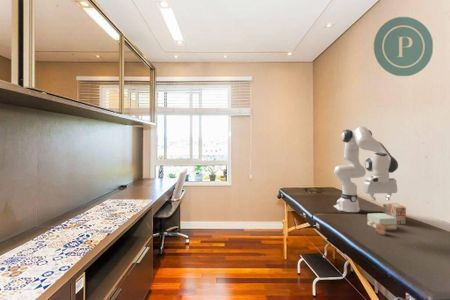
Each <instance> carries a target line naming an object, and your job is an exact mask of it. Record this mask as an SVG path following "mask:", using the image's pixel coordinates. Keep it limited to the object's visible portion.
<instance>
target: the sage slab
mask: <svg viewBox="0 0 450 300" xmlns="http://www.w3.org/2000/svg"><path fill="white" fill-rule="evenodd" d="M366 218H367V219H368V220H370V221H372V222H375V223H382V224H385V225H388V224H397V218H395V217H392V216H390V215H387V214H384V212H383V213H381V212H380V213H379V212H377V213H375V212H374V213H367V217H366ZM397 225H398V224H397Z"/></svg>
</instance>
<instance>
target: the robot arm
mask: <svg viewBox="0 0 450 300" xmlns="http://www.w3.org/2000/svg"><path fill="white" fill-rule="evenodd" d="M341 140H342V142H343V143H345V144H344V149H343V150H344V151H343V158H344V160H346V161H347V162H348V163H349V164H343V165H336V166H335V168H334V170H333V174H334V175H335V177H336V178H338V179H339V181H340V182H341V187H342V189H341V190H342V193H340V196H341V197H339V198H338V199H337V201H336V204H335V205H333V208H335V209H336V210H338V211H340V212H348V213H358V212H360V211H361V208H360V205H359V200H358V194H357V193H358V186H357V185H356V183H354V182H353V181H352V180H351V179H358V178H363V177H364V181H365V182H364V185H363V192H364V193H365V194H367V195H368V194H369V196H370V198H371V201H376V200H377V199H376V197H375V196H374V195H375V194H376V195H377V194H386V196H385V200H386V201H390V200H391V197H392V196H393V195H392V194H397V192H398V185H397V179H395V178H393V177H392V178H390V173H392V174H393V173H394V172H395V171H396V170H397V169H398V168H399V163H398V161H397V160H396V158H395V157H394V156H392V155H391V154H390V152H389V150H388V149H387V148H386V147H385V146H384V144H383V143H382V142H380V141H378V140H377V139H375V138H374V136H373V132H372V131H371V130H370V129H368V128H367V127H365V126H359V127H357V128H353V129H344V130H343V131H342V132H341ZM360 149H361V150H363V151H369V152H373V155H372V156H371V157H368V158H367V159H366V160H365V161H364V166H363V165H362V164H361V162H360V159H359V154H360V153H359V152H360ZM367 171H368V172H371V173H372V175H369V176H366V177H365V175H366V174H367V173H366V172H367Z"/></svg>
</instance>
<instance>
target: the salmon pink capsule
mask: <svg viewBox="0 0 450 300" xmlns="http://www.w3.org/2000/svg"><path fill="white" fill-rule="evenodd" d="M375 234H376V235H378V234H379V235H378V236H386V230H385V224H382V223H376V228H375Z"/></svg>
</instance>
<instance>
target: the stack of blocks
mask: <svg viewBox="0 0 450 300" xmlns="http://www.w3.org/2000/svg"><path fill="white" fill-rule="evenodd" d="M382 206H383V213H384V214H387V215H390V216H392V217H395V218H397V225H406V220H407V219H406V216H407V207H406V206H404V205H402V204H400V203H396V202H395V203H393V202H389V203H383V205H382Z"/></svg>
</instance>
